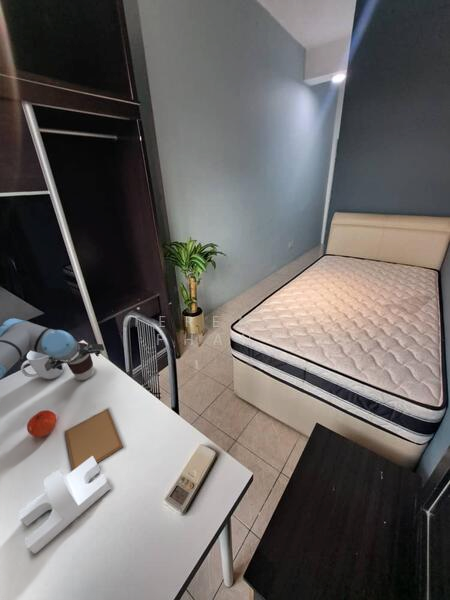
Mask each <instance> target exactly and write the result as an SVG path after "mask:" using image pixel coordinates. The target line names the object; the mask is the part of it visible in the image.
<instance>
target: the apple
mask: <svg viewBox="0 0 450 600" xmlns="http://www.w3.org/2000/svg"><path fill="white" fill-rule="evenodd" d="M57 422H58V417H57V415H56V413H55V412H53V411H52V410H41V411H39V412H37V413H36V414H34V415H33V416H32V417H31V418H30V419H29V420H28V422H27V425H26V430H27V433H28V434H29V435H30V436H33V437H38V438H39V437H45V436H47V435H49V434H50V433H51V432H52V431H53V430H54V429H55V427H56V424H57Z"/></svg>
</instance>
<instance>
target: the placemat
mask: <svg viewBox="0 0 450 600" xmlns="http://www.w3.org/2000/svg"><path fill="white" fill-rule="evenodd" d="M64 433H65V434H64V435H65V439H66V444H67V449H68V454H69V459H70V464H71V470H72V471H73V470H74V469H75V468H77V467H78V466H79V465H81V464H82V463H83V462H85V461H86V460H87V459H89V458H90V457H91V456H93V457H94V459H95V461H96V463H97V464H99V463H100V462H102V461H103V460H105V459H106V458H107V459H108V457H110V456H112V455H113V454H115V453H116V452H118V451H120V450H121V449H123V448H124V445H123V443H122V440H121V438H120V436H119V432H118V430H117V428H116V424H115V423H114V420H113V417H112V415H111V413H110V410H109V408H106V409H103V410H102V411H100V412H98V413H97V414H95V415H93V416H91V417H89V418H87V419H85V420H84V421H81V422H80V423H78V424H76V425H74V426H72V427H70V428H68V429H67V430H64Z"/></svg>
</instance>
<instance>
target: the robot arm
mask: <svg viewBox="0 0 450 600" xmlns="http://www.w3.org/2000/svg"><path fill="white" fill-rule="evenodd" d="M86 344H87V347H81V346H80V345H79V344H78V341H77V340H76V339H75V338H74V336H73V335H72V334H71V333H69V332H67V331H65V330H62V329H53V328H49V327H46V326H42V325H39V324H37V323H33V322H31V321H28V320H23V319H19V318H15V317H13V318H9V319H7V320H5V321H4V322H3V323H2V325H1V326H0V379H2V378H3V377H4V376H5V375H6V373H8V372H9V371H10V370H11V368H13V367H14V366H15V365H16V363H17V362H19V361H20V360H21V359H22V358H23V357H24V356H25V355H27V354H28V353H29V352H30V351H34V352H37V353H41V354H45V355H48V356H51V357H49V360H48V361H47V362H46V363H45V368H46V371H49V370H50V369H51V368H52V369H56V368H57V369H59V370H62V369H63V368H62V365H61V364H63V363H64V364H67V363H73V362H76V361H77V360H78V359H79V358H80V357H83V356H85V355H87V354H90V355H93V354H94V355H95V356H96V357H100V354H101V352H103V351H105V347H104V343H91V342H90V343H86ZM63 370H64V369H63Z"/></svg>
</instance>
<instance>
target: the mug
mask: <svg viewBox="0 0 450 600" xmlns="http://www.w3.org/2000/svg"><path fill="white" fill-rule="evenodd" d="M49 357H51V356H48V355H45V354H41V353H37V352H34V351H28V352H27V353H26V360H25V361H23V363H22V364H21V366H20V371H21V373H22V375H24V377H27V378H37V377H41V378H43V379H46V380H54V379H56V378H58V377H60V376H61V375H62V374H63V373H64V369H65V363H63V364H61V365H62V368H63V369H62V370H59V369H57V368H56V369H52V368H51V369H50V370H49V371H46V368H45V363H46V362H47V361H48V360H49ZM26 365H30V366H31V368H32V369H33V370H34V372H35V373H29V372H27V371H26V370H25V366H26Z"/></svg>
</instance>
